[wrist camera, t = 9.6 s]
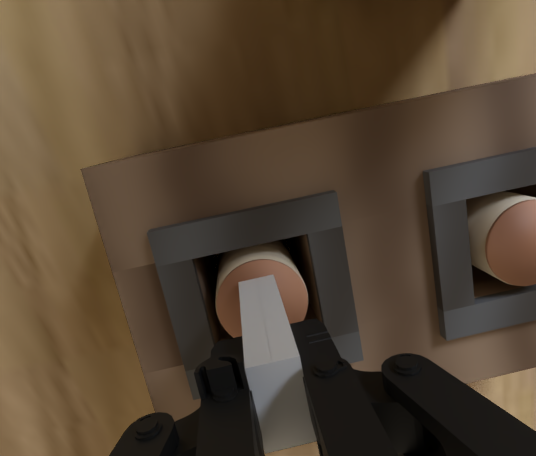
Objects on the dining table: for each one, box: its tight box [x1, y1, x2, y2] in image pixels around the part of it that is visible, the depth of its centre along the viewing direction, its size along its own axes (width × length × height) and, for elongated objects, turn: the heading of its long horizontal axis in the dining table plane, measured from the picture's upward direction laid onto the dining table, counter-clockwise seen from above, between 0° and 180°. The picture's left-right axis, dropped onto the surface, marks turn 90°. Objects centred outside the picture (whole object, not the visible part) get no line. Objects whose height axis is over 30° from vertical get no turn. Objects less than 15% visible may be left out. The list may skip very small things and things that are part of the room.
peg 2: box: [466, 191, 536, 286], centre depth 22 cm, size 4×4×8 cm
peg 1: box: [215, 239, 308, 338], centre depth 22 cm, size 4×4×8 cm
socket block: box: [81, 73, 536, 422], centre depth 23 cm, size 24×14×9 cm, turn 102°
